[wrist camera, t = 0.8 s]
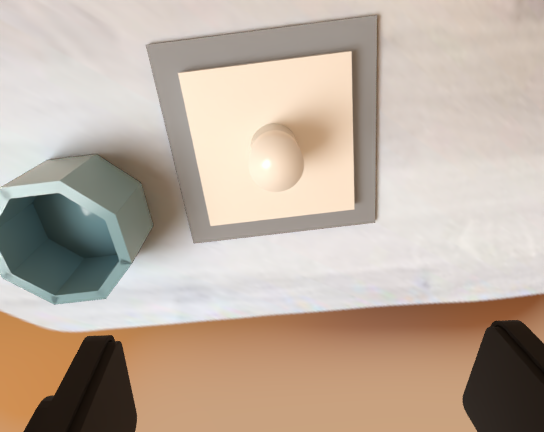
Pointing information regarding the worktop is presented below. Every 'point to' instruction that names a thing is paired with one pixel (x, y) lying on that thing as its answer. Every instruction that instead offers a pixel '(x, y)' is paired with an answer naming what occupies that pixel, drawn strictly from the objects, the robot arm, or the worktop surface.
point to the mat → (259, 48)
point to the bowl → (71, 228)
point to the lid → (273, 137)
